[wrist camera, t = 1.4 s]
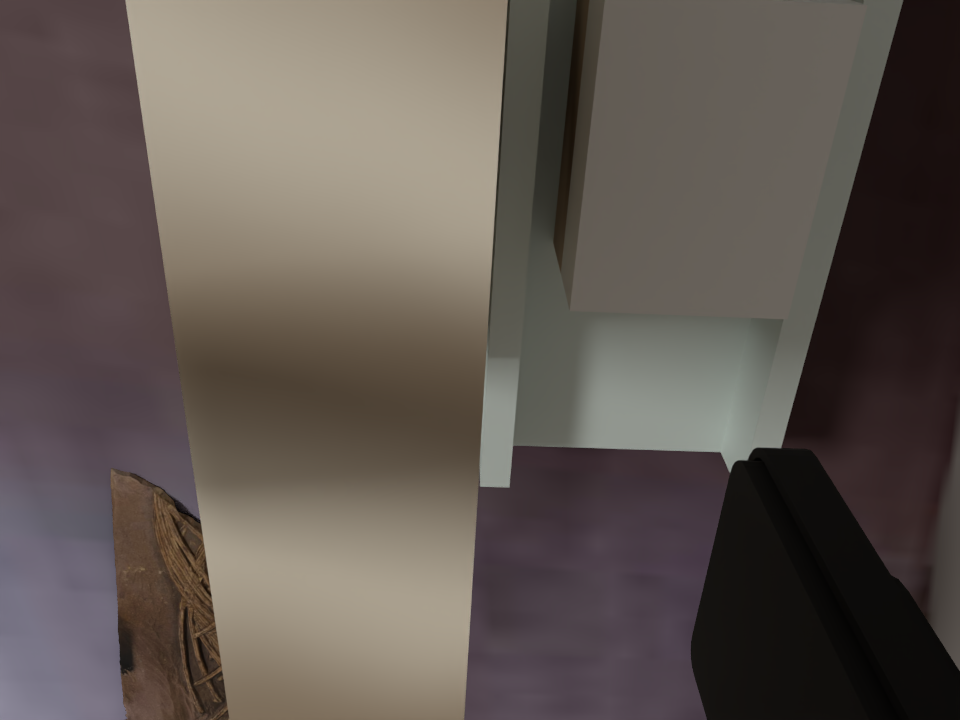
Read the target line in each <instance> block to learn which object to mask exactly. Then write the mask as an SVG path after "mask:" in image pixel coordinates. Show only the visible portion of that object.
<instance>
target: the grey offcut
mask: <svg viewBox="0 0 960 720" xmlns="http://www.w3.org/2000/svg"><path fill="white" fill-rule="evenodd" d="M866 9H867V5H864V4H861V3H858V2H855V1H851V0H589V9H588V18H587V28H586V37H585V47H584V56H583V66H582V75H581V85H580V95H579V104H578V114H577V123H576V133H575V142H574V152H573V162H572V171H571V181H570V190H569V200H568V209H567V219H566V228H565V238H564V248H563V257H562V267H561V277H562V281H563V285H564V289H565V294H566V298H567V302H568V306H569V310H570V311H581V312H608V313H634V314H660V315H686V316H712V317H738V318H764V319H788V316H789V312H790V308H791V304H792V300H793V296H794V292H795V288H796V284H797V280H798V276H799V272H800V268H801V265H802V261H803V257H804V253H805V249H806V245H807V241H808V237H809V233H810V229H811V225H812V221H813V217H814V213H815V210H816V206H817V202H818V198H819V194H820V190H821V186H822V182H823V178H824V174H825V170H826V166H827V162H828V159H829V155H830V151H831V147H832V143H833V139H834V135H835V131H836V127H837V123H838V119H839V115H840V111H841V107H842V104H843V100H844V96H845V92H846V88H847V84H848V80H849V76H850V72H851V68H852V64H853V60H854V56H855V52H856V49H857V45H858V41H859V37H860V33H861V29H862V25H863V21H864V17H865V13H866Z"/></svg>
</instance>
